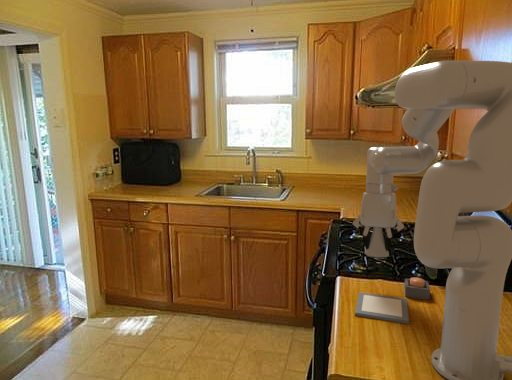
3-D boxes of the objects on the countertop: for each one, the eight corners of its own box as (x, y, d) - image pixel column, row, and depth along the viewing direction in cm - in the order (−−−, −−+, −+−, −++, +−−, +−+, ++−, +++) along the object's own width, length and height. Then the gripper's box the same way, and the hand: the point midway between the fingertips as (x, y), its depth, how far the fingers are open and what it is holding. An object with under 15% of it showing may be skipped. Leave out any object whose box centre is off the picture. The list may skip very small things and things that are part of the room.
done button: (423, 287, 111) (424, 278, 111) (424, 292, 108) (425, 283, 107) (409, 285, 113) (409, 276, 112) (409, 290, 109) (410, 281, 109)
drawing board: (406, 301, 105) (406, 298, 105) (408, 323, 93) (408, 320, 93) (358, 294, 110) (358, 292, 109) (354, 315, 98) (355, 312, 97)
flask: (391, 259, 109) (392, 225, 107) (365, 257, 110) (366, 224, 109) (387, 251, 116) (388, 220, 114) (363, 250, 117) (364, 219, 116)
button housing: (427, 290, 112) (427, 281, 112) (429, 299, 106) (430, 289, 106) (404, 287, 114) (405, 278, 114) (405, 296, 108) (405, 286, 108)
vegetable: (423, 279, 120) (428, 219, 117) (421, 275, 124) (426, 216, 121) (438, 281, 119) (443, 220, 116) (436, 276, 123) (441, 217, 120)
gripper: (409, 188, 111) (406, 248, 113) (350, 186, 117) (349, 243, 119) (411, 191, 104) (407, 255, 106) (348, 189, 110) (346, 249, 112)
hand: (376, 248), depth 113 cm, fingers closed on flask, 4 cm apart
